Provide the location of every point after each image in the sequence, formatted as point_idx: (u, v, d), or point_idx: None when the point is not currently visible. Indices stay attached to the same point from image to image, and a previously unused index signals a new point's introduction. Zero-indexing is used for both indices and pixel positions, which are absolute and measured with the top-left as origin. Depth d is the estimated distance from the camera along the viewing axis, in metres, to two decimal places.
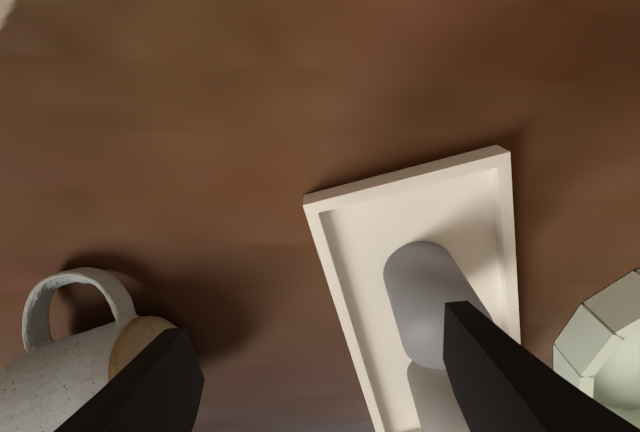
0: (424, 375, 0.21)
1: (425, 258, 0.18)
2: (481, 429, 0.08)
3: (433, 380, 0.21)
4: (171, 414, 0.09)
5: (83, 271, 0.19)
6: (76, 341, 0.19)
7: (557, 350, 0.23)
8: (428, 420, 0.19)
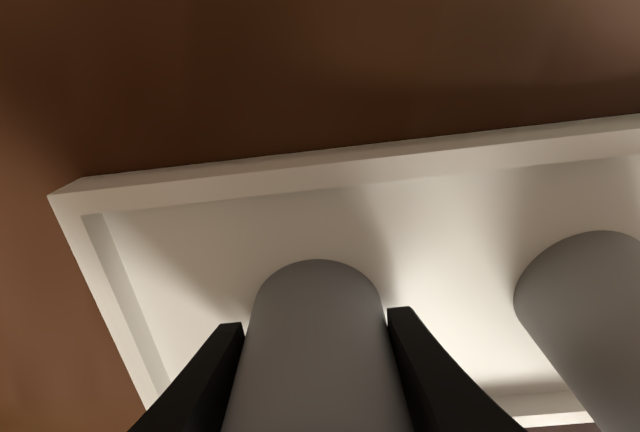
0: None
1: None
2: None
3: (556, 367, 0.09)
4: None
5: None
6: None
7: None
8: None
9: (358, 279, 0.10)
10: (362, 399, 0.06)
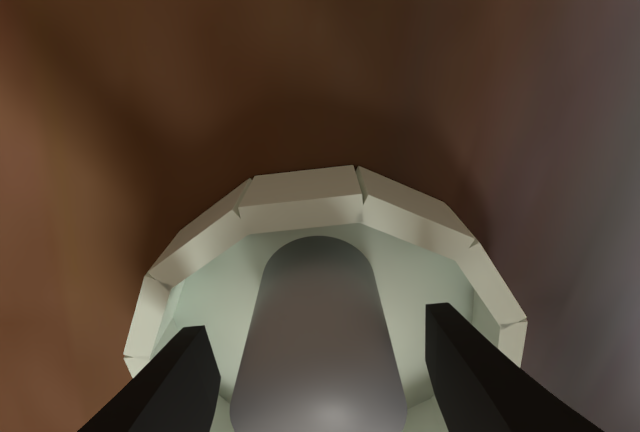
0: None
1: None
2: (459, 431, 0.08)
3: None
4: (191, 412, 0.09)
5: None
6: None
7: None
8: None
9: (356, 254, 0.11)
10: (360, 338, 0.08)
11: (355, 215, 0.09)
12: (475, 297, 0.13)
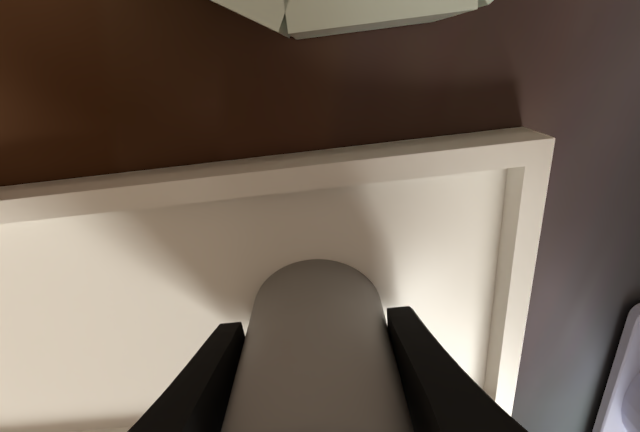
0: None
1: None
2: None
3: None
4: None
5: None
6: None
7: (299, 37, 0.08)
8: None
9: None
10: None
11: None
12: None
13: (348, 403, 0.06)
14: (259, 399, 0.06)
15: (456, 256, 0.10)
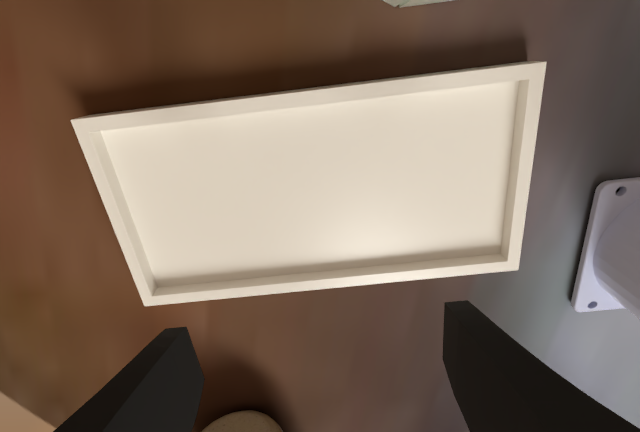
0: None
1: None
2: (482, 429, 0.08)
3: None
4: (171, 414, 0.09)
5: None
6: None
7: (403, 5, 0.14)
8: None
9: None
10: None
11: None
12: None
13: None
14: None
15: (486, 145, 0.17)
